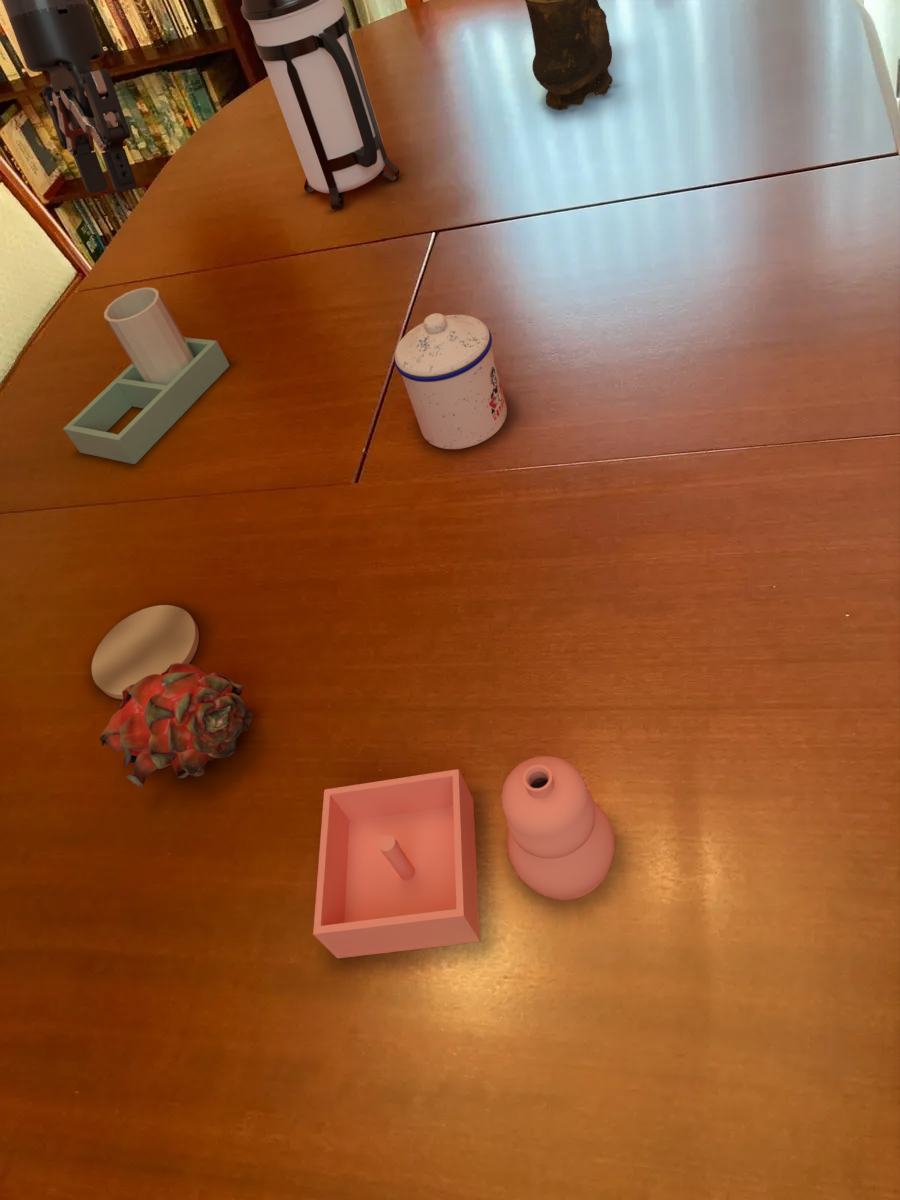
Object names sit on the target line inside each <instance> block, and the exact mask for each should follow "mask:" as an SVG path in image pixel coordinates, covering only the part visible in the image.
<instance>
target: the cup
mask: <svg viewBox="0 0 900 1200" xmlns="http://www.w3.org/2000/svg"><path fill="white" fill-rule="evenodd" d="M103 319H104V320H105V321H106V323H107V325H108V326H109V328H110V330H111V331H112V333H113V335H114V336H115V338H116V339H117V341H118V343H119V344H120V346H121V348H122V349H123V351H124V352H125V354H126V356H127V357H128V359H129V360H130V362H131V364H133V365H134V367H135V369H136V370H137V372H138V373H139V375H140V377H141V378H142V380H143V382H148V383H154V384H161V385H168V384H169V383H170V382H171V381H172V380H173V379H174V378H175V377H176V376H177V375H178V374H179V373H180V372H181V371H182V370H183V369H184V368H185V367H186V366H187V365H188V364H189V363H190V362H191V361H192V360H193V359H194V358H195V357H194V355H193V353H192V351H191V350H190V348H189V346H188V344H187V342H186V340H185V339H184V337H185V336H184V335H183V333H182V331H181V329H180V328H179V326H178V324H177V322H176V320H175V319H174V317H173V314H172V313H171V311H170V310H169V308H168V306H167V304H166V303H165V301H164V299H163V296H162V295H161V293H160V291H159V290H158V289H156V288H155V287H148V286H145V287H140V288H135V289H133V290H130V291H127V292H125V293H123V294H121V295H120V296H118V297H116V298H115V299H114V300H113V301H111V302H110V303H109V304H108V305H107V307H106V308H105V309H104V311H103Z"/></svg>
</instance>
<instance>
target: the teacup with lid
mask: <svg viewBox="0 0 900 1200" xmlns="http://www.w3.org/2000/svg"><path fill="white" fill-rule="evenodd" d="M492 336H493V335H492V333H491V331H490V329H489V328H488V326H487V325H486V324H485V323H484V322H483V321H482V320H481V319H479V318H476V317H474V316H472V315H471V316H470V315H467V314H447V315H444V314H442V313H439V312H435V313H430V314H429V315H428V316H426V317H425V318H424V320H423V322H422V323H420V324H418V325H416V326H415V327H413V328H412V329H410V330H409V331H408V332H407V333H405V334H404V336H402V338H401V339H400V341H399V342H398V343H397V346H396V349H395V352H394V366H395V369H396V370H397V372H398V373H399V374H400V375H401V378H402V381H403V383H404V386H405V389H406V393H407V395H408V398H409V401H410V403H411V407H412V409H413V412H414V415H415V418H416V420H417V424H418V426H419V429H420V432H421V435H422V437H423V438H424V439H425V441H427V442H428V443H429V444H430V445H432V446H434V447H436V448H439V449H442V450H461V449H467V448H470V447H474V446H476V445H480V444H481V443H483V442H485V441H487V440H489V439H490V438H492V437H493V436H495V434H496V433H497V432H498V431H499V430H500V429H501V428H502V427H503V425H504V424H505V421H506V419H507V415H508V408H507V403H506V399H505V395H504V391H503V387H502V384H501V380H500V376H499V371H498V368H497V363H496V360H495V355H494V351H493V347H492V342H493V337H492Z"/></svg>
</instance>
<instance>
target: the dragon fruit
mask: <svg viewBox="0 0 900 1200" xmlns="http://www.w3.org/2000/svg"><path fill="white" fill-rule="evenodd" d="M243 688H244V685H243V684H241V683H240V684H238V683H235V682H234V681H232V680H231V679H229V678H228V677H227V676H225V675H224V674H222V673H219V672H211V673H206V672H205V671H204V669H202V668H201V667H199V666H196V665H194V664H192V663H189V664H183V663H175V664H171V665H170V667H169V668H168V669H167V670H166V671H165V672H163V673H162V674H161V675H159V674H153V675H149V676H146V677H144V678H143V679H141V680H140V681H138V682H137V683H135V684H132V685H130V686H129V687H127V688H125V689H124V690H123V692H122V694H123V700H122V699H121V700H122V701H121V702H120V705H119V708H118V709H117V711H115V713H113V714H112V715H111V717H110V719H109V722H108V724H107V726H106V727H104V729H103V730H102V732H101V734H100V736H99V744H100V742H101V747H103V746H104V745H105V746H108V747H109V748H110V749H111V750H112V751H114V752H115V753H117V754H118V753H119V754H120V753H124V756H123V757H124V758H123V763H122V764H123V765H122V766H123V767H125V766H129V764H133V774H131V773H129V774H126V779H127V780H129V782H131V783H132V784H133V785H135V786H137V787H139V788H141V787H142V788H143V787H144V786H145V783H146V779H147V778H148V776H149V775H150V774H152V773H153V772H155V771H156V770H160V769H161V770H162V769H164V768H166V767H169V766H172V769H173V771H174V773H175V775H176V777H177V778H178V779H186V778H187V777H188V776H192V777H201V776H203V775H205V774H206V772H205V767H206V765H207V763H208V762H209V761H212V760H215V759H223V758H228V757H231V756H232V755H233V754H235V753H236V751H237V746H236V744H237V738H238V737H239V736H240V735H241V733H243V732H246V731H247V730H249V728H250V725H251V723H252V719H253V717H254V715H253V713H252V712H251V711H250V710H249V709H248V708H247V707H246V703H245V701H244V700H243V699H242V698H241V697H240V696H241V695H242V693H243ZM98 756H99V757H100V756H101V754H99V755H98Z"/></svg>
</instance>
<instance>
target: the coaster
mask: <svg viewBox="0 0 900 1200" xmlns="http://www.w3.org/2000/svg"><path fill="white" fill-rule="evenodd" d="M199 631H200V630H199V627H198V625H197V622H196V621H195V619H194V618H193V616H192V615H191V614H190V613H189V612H188V611H187V610H185V609H183V608H182V607H180V606H175V605H171V604H159V605H153V606H149V607H145V608H143V609H140V610H137V611H135V612H133V613H131V614H130V615H128V616H127V617H125V618H124V619H122V620H121V621H119V622H118V623H117V624H115V626H113V627H112V628H111V629H110V630H109V631H108V632H107V633H106V635H105V636H104V637H103V639H102V640H101V641H100V643H99V644H98V646H97V648H96V649H95V652H94V655H93V657H92V661H91V675H92V679H93V681H94V684H95V685H96V687H98V689H100V690H101V691H102V693H104V694H105V695H107V696H109V697H110V698H114V699H116V700H123V694H122V692H123V690H124V689H125V688H127V687H129V686H130V685H132V684H135V683H137V682H138V681H140V680H141V679H143V678H144V677H146V676H149V675H153V674H159V675H161V674H162V673H163V672H165V671H166V670H167V669H168V668H169V667H170V665H171V664H175V663H183V664H191V662H192V661H193V659H194V657H195V655H196V652H197V649H198V646H199V643H200V632H199Z"/></svg>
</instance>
